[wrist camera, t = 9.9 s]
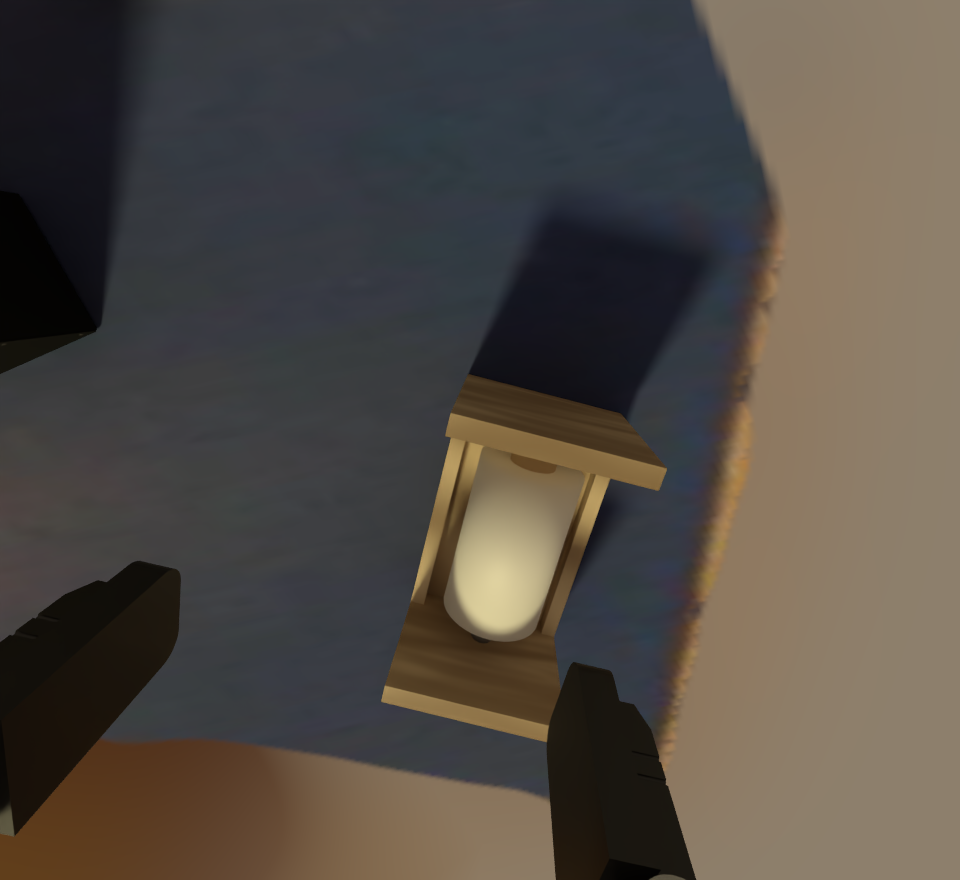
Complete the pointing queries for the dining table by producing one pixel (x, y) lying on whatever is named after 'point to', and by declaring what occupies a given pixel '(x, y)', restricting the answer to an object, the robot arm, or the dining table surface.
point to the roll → (510, 544)
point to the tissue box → (33, 291)
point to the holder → (532, 661)
